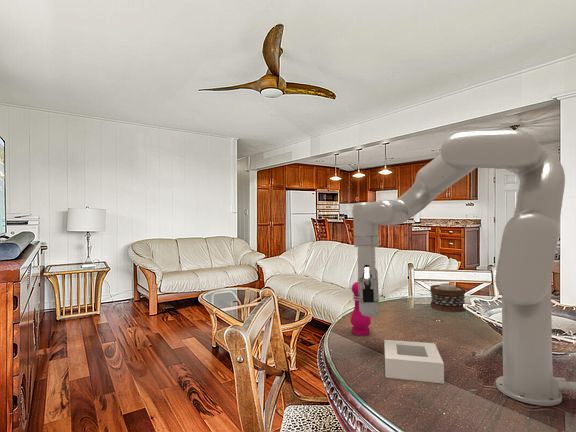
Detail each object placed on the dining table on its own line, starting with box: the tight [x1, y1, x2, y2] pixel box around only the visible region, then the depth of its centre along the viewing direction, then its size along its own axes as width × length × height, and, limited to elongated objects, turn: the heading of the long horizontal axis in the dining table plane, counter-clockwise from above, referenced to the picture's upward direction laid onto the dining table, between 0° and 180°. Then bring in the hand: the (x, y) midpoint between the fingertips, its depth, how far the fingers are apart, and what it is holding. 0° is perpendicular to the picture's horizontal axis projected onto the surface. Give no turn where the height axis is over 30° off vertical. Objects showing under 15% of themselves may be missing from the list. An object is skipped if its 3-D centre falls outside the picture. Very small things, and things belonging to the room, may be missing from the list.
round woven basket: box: [430, 283, 466, 313], centre depth 154 cm, size 15×11×15 cm
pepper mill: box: [350, 278, 372, 336], centre depth 122 cm, size 7×7×20 cm
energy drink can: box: [357, 267, 380, 317], centre depth 105 cm, size 6×6×15 cm
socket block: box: [383, 339, 445, 385], centre depth 92 cm, size 14×14×5 cm
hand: (368, 299), depth 105 cm, fingers closed on energy drink can, 6 cm apart
